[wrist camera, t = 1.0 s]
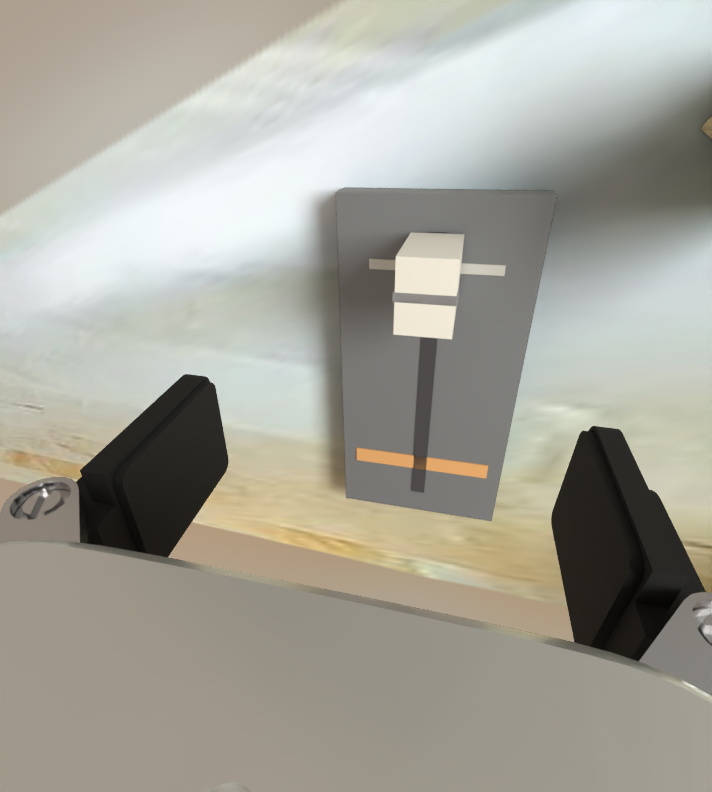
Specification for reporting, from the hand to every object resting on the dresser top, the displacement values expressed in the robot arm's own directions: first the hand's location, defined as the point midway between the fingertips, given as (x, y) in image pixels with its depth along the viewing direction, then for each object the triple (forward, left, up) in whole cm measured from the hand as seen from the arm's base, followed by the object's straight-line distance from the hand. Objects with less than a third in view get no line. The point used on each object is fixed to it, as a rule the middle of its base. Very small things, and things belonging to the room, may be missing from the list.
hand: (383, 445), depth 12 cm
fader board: (0, +8, -20) cm, 22 cm away
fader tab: (0, 0, -18) cm, 18 cm away
